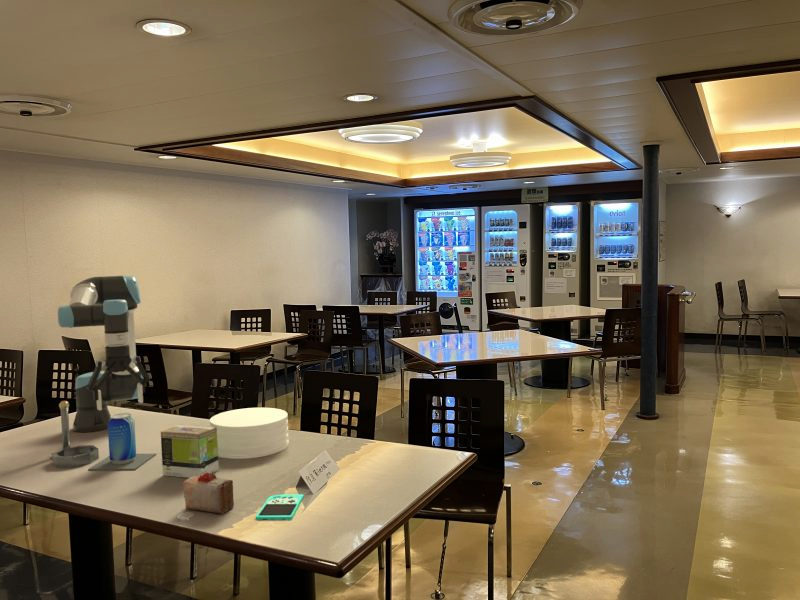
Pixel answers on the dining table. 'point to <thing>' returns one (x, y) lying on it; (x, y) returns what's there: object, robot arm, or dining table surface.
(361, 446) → the dining table surface
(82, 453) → the ring stand
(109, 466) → the rubber mat
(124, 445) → the beer can
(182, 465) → the tea box
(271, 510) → the handheld game console
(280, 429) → the plate stack
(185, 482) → the food item
